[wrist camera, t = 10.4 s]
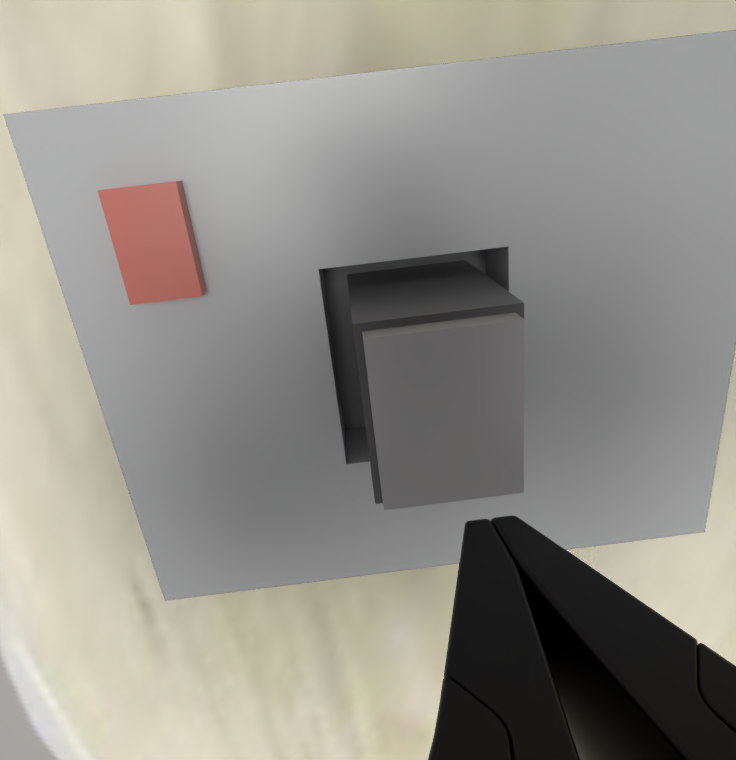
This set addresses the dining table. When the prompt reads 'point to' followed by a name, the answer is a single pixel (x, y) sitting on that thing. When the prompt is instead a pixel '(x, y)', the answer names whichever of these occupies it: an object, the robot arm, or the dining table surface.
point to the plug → (440, 383)
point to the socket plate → (388, 251)
